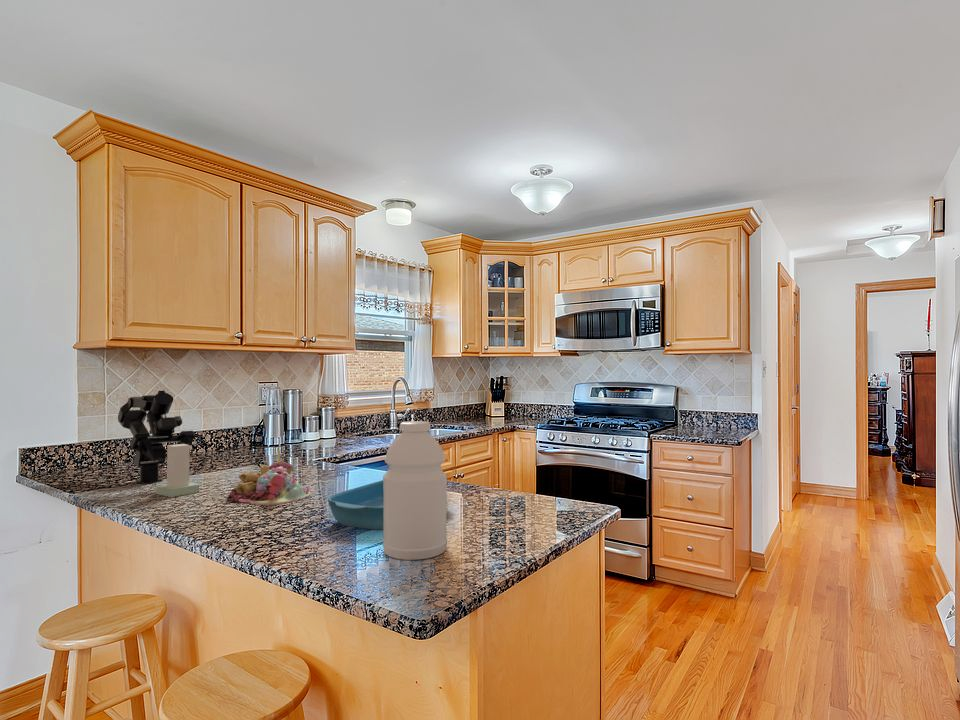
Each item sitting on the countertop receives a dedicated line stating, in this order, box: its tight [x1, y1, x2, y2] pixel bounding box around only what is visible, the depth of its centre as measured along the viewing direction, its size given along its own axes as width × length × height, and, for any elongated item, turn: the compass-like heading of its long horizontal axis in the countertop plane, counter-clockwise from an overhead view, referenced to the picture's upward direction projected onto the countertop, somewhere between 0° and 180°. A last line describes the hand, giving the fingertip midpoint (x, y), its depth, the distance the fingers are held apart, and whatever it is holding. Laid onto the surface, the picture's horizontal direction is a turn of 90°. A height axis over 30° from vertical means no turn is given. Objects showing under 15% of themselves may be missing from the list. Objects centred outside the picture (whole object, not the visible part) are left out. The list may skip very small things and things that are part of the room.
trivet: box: [156, 481, 200, 498], centre depth 176 cm, size 9×9×2 cm
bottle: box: [382, 420, 448, 561], centre depth 119 cm, size 14×14×28 cm
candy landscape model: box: [226, 464, 311, 506], centre depth 173 cm, size 25×24×9 cm
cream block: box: [166, 443, 191, 488], centre depth 177 cm, size 5×5×13 cm
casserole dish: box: [327, 479, 383, 531], centre depth 149 cm, size 37×22×7 cm, turn 153°
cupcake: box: [269, 448, 294, 474], centre depth 195 cm, size 9×8×12 cm
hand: (169, 459), depth 182 cm, fingers open, 9 cm apart
